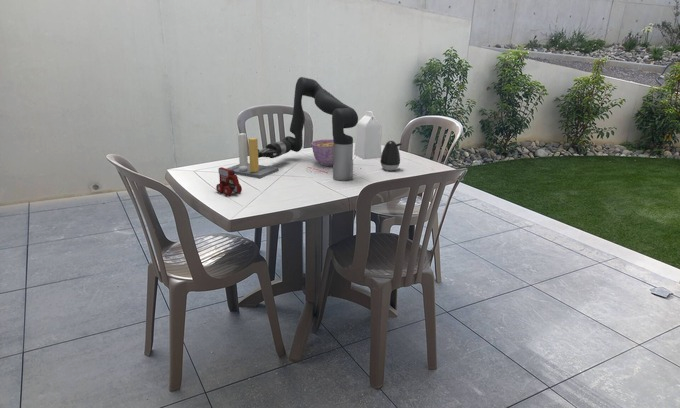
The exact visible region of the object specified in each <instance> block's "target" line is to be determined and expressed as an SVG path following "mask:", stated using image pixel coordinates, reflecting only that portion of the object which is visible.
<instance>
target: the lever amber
mask: <svg viewBox="0 0 680 408" xmlns="http://www.w3.org/2000/svg"><path fill="white" fill-rule="evenodd" d="M247 141H248V153H249V154H248V158H249V160H248V161H249V163H250V172H257V171H259V165H260V164H259V158H258V149H259V145H258V144H259V143H258V138H256V137H250V138H247Z"/></svg>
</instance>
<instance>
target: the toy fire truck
mask: <svg viewBox="0 0 680 408" xmlns="http://www.w3.org/2000/svg"><path fill="white" fill-rule="evenodd" d="M217 169H218V174H219V177H218V178H219V183H217V184H216V186H215V189H216V191H217V192H218V193H219V194H223V193H224V195H225V196H226V197H229V196H231V195H232V193H236V194H239V193H241V192H242V190H243V189H242V185H241V184H240V181H239V178H238V176H237V174H235V171H234V170H229V169H226V168H225V167H224V166H223V167H222V166H221V167H219V168H217Z"/></svg>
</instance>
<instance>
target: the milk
mask: <svg viewBox="0 0 680 408" xmlns="http://www.w3.org/2000/svg"><path fill="white" fill-rule="evenodd" d="M355 127H356V128H355V143H354V154H353V156H356V157H358V158H360V159H362V160H371V159H372V160H373V159H381V155H382V123H380V122H379V121H378V120H377V118H376V117H375V116H374V111H370V110H365V113H364V115H363V116H362V117H361V119H359V120H358V123H357V125H356V126H355Z"/></svg>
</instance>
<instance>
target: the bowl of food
mask: <svg viewBox="0 0 680 408" xmlns="http://www.w3.org/2000/svg"><path fill="white" fill-rule="evenodd" d="M311 148H312V153H313V156H314V158H315V160H316V162H318V163H319V164H321V165H323V166H326V167H333V139H318V140H314V141H312V142H311Z"/></svg>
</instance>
